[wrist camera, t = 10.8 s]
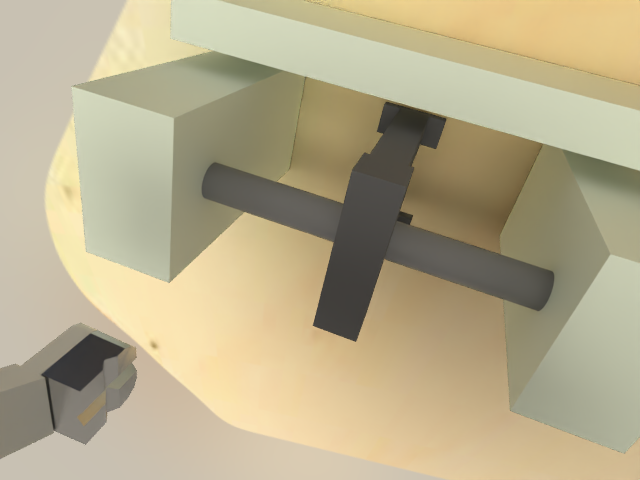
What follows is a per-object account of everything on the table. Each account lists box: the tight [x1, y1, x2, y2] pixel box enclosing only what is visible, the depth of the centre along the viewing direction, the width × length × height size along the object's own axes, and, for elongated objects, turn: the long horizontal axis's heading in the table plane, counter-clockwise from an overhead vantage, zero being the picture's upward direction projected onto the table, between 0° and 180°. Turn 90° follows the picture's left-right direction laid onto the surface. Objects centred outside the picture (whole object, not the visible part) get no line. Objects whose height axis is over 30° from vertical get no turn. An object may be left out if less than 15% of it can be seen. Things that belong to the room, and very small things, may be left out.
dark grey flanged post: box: [313, 102, 446, 342], centre depth 20 cm, size 3×7×9 cm, turn 168°
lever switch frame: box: [71, 0, 640, 454], centre depth 21 cm, size 22×10×14 cm, turn 78°
